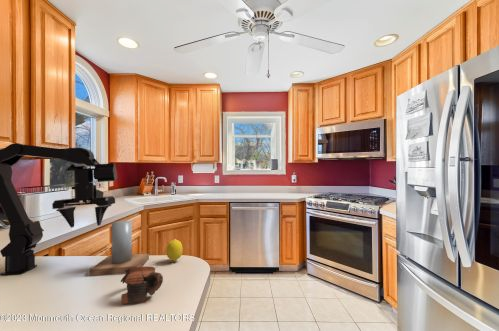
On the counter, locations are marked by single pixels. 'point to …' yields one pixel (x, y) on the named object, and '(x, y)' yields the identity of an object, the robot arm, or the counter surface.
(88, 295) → the counter surface
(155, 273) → the pottery mug
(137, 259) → the shelf board
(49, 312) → the counter surface
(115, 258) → the grey cylinder
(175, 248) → the lemon
